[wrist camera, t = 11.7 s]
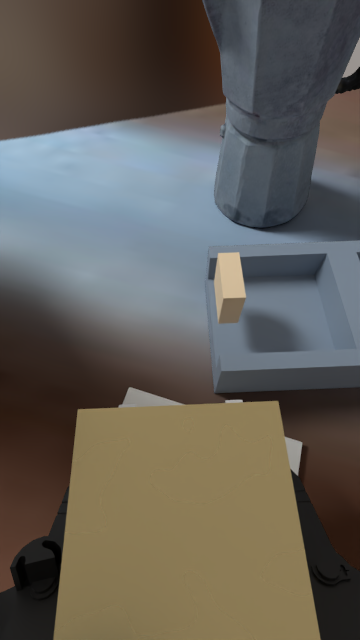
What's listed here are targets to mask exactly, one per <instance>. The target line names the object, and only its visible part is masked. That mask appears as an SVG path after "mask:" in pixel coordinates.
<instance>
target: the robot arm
mask: <svg viewBox="0 0 360 640" xmlns="http://www.w3.org/2000/svg"><path fill="white" fill-rule="evenodd" d="M240 402H243V401H242V400H225V403H240ZM122 407H136V404H127V405H119V407H118V408H122ZM290 470H291V469H290ZM291 475H292V481H293V487H294V492H295V498H296V504H297V509H298V515H299V520H300V526H301V532H302V537H303V543H304V549H305V554H306V560H307V565H308V571H309V577H310V582H311V588H312V594H313V599H314V605H315V610H316V616H317V622H318V627H319V633H320V639H321V640H360V571H359V570H357V569H355V568H353V567H352V566H350V565H349V564H348V563H347V562H346V561H345V559H344V558H343V557H342V556H340V555H339V554H337V553H336V552H335V550H334V548H333V547H332V545H331V543H330V541H329V539H328V537H327V534H326V532H325V530H324V528H323V526H322V524H321V522H320V520H319V518H318V516H317V514H316V511H315V509H314V507H313V505H312V504H311V501H310V499H309V497H308V495H307V493H306V491H305V488H304V486H303V484H302V482H301V480H300V478H299V477H298V476H297V475H296V474H295V473H294V472H293V471H292V470H291ZM69 488H70V486H69V487H68V488H67V490H66V493H65V495H64V498H63V500H62V504H61V506H60V508H59V511H58V515H57V516H56V518H55V521H54V523H53V526H52V528H51V531H50V533H49V536H43V537H41V538H38V539H36V540H33V541H32V542H30V543H29V544H27V545H26V546H25V547H23V548H22V549H21V551H20V552H19V553H18V554H17V555H16V556H15V558H14V560H13V562H12V565H11V567H10V569H11V573H12V577H13V580H14V584H15V586H14V587H12V588H10V589H8V590H6V591H4V592H1V593H0V640H53V639H54V629H55V620H56V610H57V601H58V591H59V582H60V573H61V563H62V554H63V544H64V535H65V526H66V516H67V507H68V497H69Z"/></svg>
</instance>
